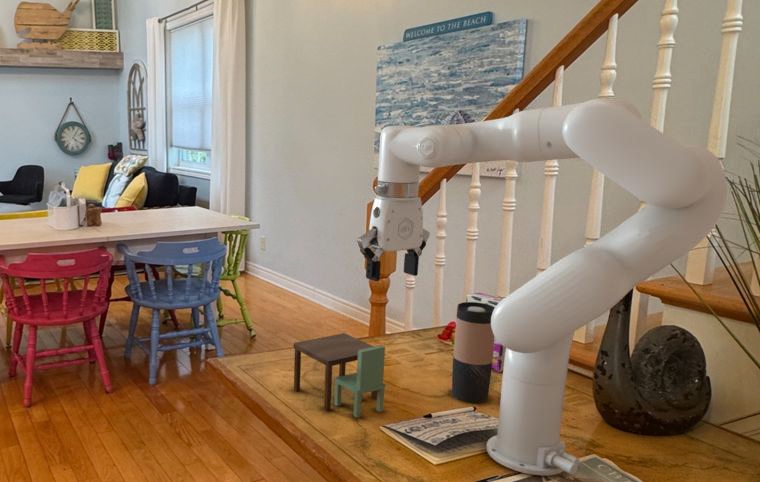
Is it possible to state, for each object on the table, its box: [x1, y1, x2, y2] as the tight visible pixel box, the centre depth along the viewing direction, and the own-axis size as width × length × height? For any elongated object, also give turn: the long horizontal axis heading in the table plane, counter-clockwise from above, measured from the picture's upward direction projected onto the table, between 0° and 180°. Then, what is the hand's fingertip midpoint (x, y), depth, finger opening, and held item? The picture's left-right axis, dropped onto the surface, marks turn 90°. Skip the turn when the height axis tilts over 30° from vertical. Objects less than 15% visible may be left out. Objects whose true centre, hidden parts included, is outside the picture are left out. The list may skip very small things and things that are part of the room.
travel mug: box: [451, 301, 495, 404], centre depth 135 cm, size 8×8×20 cm
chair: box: [333, 344, 386, 419], centre depth 131 cm, size 7×7×14 cm
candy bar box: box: [465, 292, 506, 373], centre depth 153 cm, size 11×5×16 cm, turn 25°
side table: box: [293, 332, 377, 412], centre depth 138 cm, size 12×14×11 cm
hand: (391, 276), depth 125 cm, fingers open, 9 cm apart
